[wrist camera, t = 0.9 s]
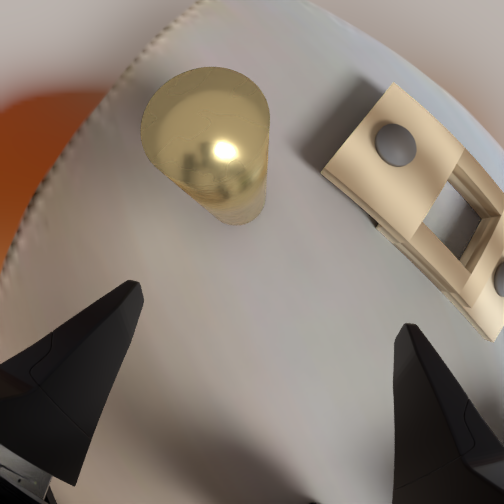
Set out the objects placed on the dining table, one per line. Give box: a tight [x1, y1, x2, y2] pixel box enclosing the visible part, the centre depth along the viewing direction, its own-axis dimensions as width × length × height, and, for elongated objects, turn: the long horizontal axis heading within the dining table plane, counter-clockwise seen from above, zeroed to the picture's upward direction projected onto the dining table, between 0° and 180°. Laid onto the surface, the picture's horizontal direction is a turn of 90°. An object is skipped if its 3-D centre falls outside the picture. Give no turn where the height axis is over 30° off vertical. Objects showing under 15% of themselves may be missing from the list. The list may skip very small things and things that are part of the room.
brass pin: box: [141, 67, 270, 225], centre depth 17 cm, size 4×4×14 cm
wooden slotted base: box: [321, 82, 504, 343], centre depth 21 cm, size 10×22×4 cm, turn 51°
